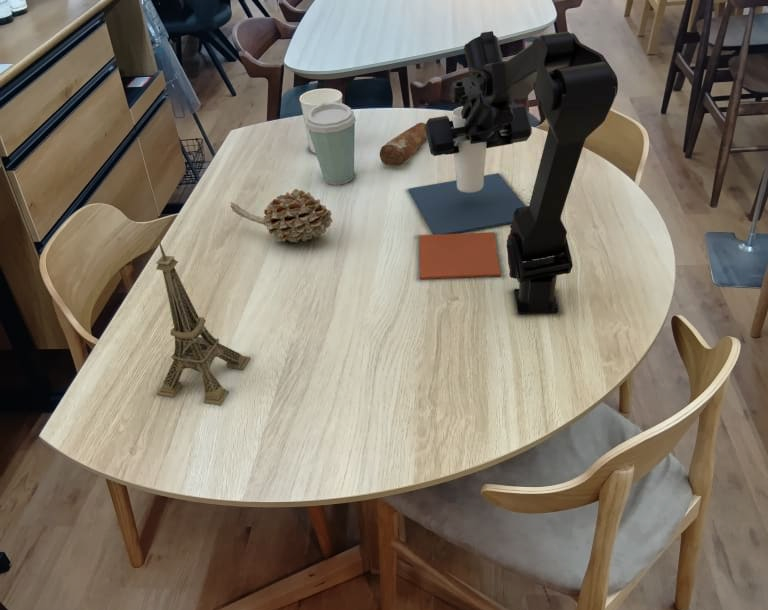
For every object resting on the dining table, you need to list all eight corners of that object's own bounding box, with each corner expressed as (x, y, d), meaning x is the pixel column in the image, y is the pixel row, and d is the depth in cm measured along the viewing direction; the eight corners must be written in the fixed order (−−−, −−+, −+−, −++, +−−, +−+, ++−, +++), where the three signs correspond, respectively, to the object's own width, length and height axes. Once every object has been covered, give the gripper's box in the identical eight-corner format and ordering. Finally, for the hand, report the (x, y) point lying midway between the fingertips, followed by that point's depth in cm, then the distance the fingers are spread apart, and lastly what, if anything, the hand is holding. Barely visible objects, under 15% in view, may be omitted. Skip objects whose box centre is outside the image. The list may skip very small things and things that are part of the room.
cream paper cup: (301, 144, 162) (293, 94, 154) (338, 135, 165) (332, 85, 157) (315, 159, 155) (308, 107, 147) (353, 149, 158) (348, 98, 150)
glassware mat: (534, 219, 129) (534, 217, 129) (435, 237, 127) (435, 235, 127) (498, 175, 144) (498, 173, 143) (408, 190, 141) (408, 188, 141)
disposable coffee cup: (368, 183, 145) (362, 113, 135) (321, 194, 143) (312, 125, 132) (352, 164, 152) (345, 97, 142) (307, 175, 150) (297, 107, 140)
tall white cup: (460, 198, 129) (459, 120, 120) (448, 185, 134) (445, 109, 125) (492, 191, 131) (494, 113, 121) (479, 178, 136) (479, 102, 126)
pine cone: (342, 230, 131) (336, 183, 124) (325, 256, 125) (318, 208, 118) (242, 220, 137) (231, 174, 130) (220, 244, 130) (207, 198, 123)
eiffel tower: (220, 405, 97) (172, 258, 80) (157, 394, 100) (96, 250, 83) (250, 358, 104) (211, 214, 87) (190, 350, 107) (141, 208, 90)
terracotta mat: (500, 276, 116) (500, 273, 116) (419, 279, 117) (419, 276, 117) (493, 234, 126) (493, 232, 126) (419, 237, 127) (419, 235, 127)
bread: (378, 168, 150) (376, 144, 146) (414, 134, 162) (413, 111, 158) (403, 172, 148) (402, 147, 144) (438, 138, 160) (437, 114, 156)
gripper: (531, 57, 115) (504, 101, 130) (426, 73, 112) (412, 116, 128) (545, 119, 114) (517, 156, 130) (440, 136, 112) (424, 172, 127)
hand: (467, 148), depth 129 cm, fingers closed on tall white cup, 6 cm apart
